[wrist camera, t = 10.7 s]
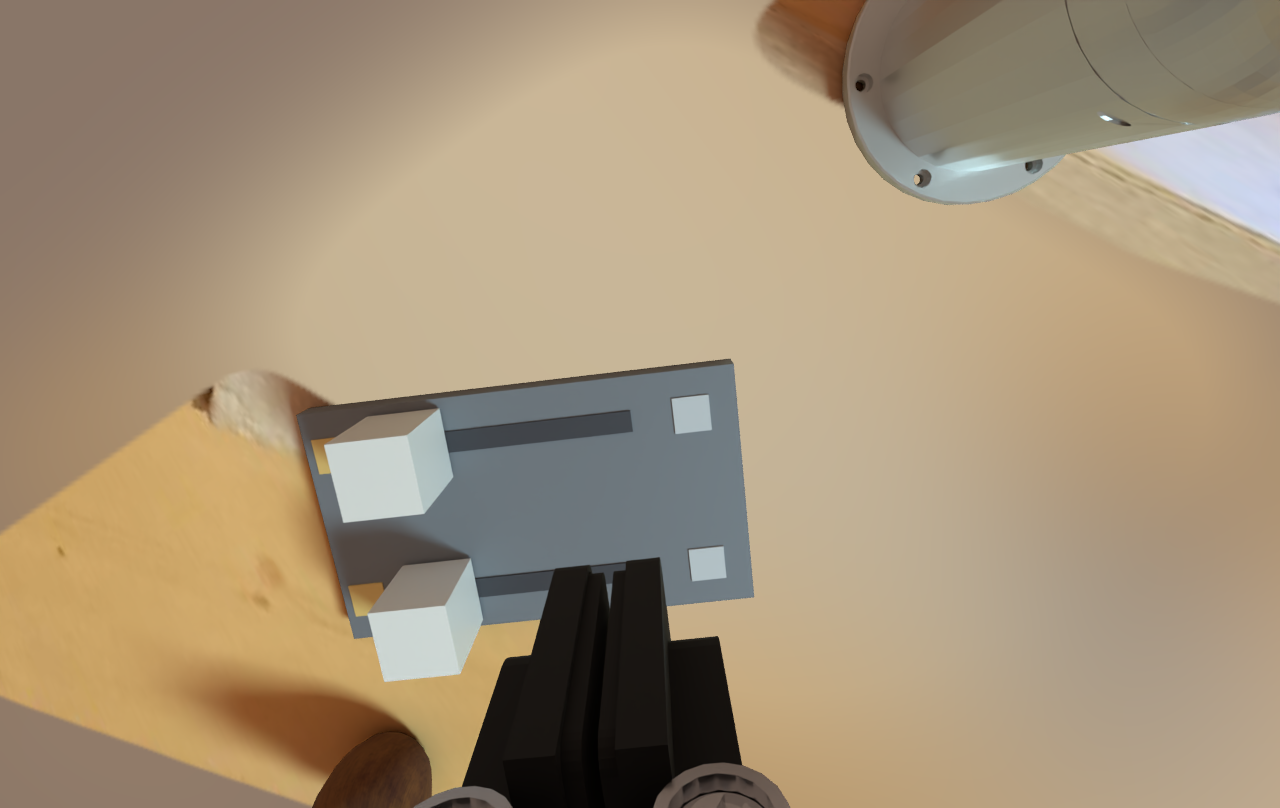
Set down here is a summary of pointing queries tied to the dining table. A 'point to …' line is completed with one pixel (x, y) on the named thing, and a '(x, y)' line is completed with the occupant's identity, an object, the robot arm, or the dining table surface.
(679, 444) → the switch panel
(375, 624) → the tab far
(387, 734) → the wooden figurine
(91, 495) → the dining table surface
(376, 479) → the tab near
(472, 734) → the dining table surface
